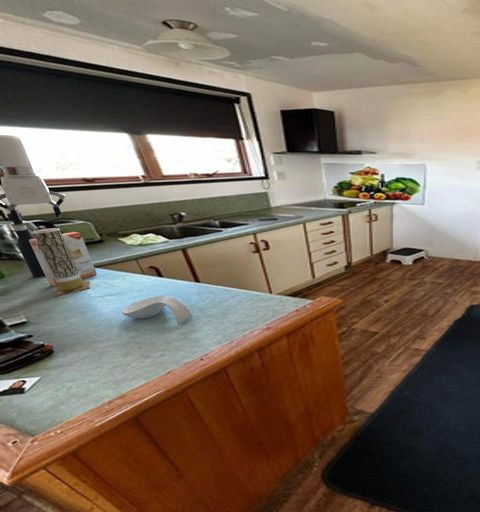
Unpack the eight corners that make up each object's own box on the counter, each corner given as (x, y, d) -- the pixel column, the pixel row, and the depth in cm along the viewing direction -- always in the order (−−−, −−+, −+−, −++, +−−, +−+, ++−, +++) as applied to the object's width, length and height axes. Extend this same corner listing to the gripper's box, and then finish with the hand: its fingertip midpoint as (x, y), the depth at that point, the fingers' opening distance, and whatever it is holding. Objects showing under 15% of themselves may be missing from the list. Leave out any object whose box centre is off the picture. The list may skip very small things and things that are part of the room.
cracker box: (57, 287, 116) (35, 240, 109) (49, 285, 118) (27, 239, 111) (98, 274, 129) (80, 232, 122) (90, 273, 131) (72, 231, 124)
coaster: (54, 296, 107) (53, 295, 107) (56, 289, 114) (56, 288, 114) (90, 288, 114) (89, 287, 114) (90, 281, 121) (90, 280, 121)
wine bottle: (34, 278, 126) (2, 215, 116) (32, 275, 130) (0, 213, 120) (55, 273, 131) (25, 212, 121) (52, 271, 135) (23, 211, 125)
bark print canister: (65, 292, 110) (37, 232, 101) (57, 290, 112) (28, 231, 104) (87, 285, 116) (63, 228, 107) (79, 283, 118) (54, 227, 110)
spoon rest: (116, 320, 89) (108, 301, 87) (154, 303, 99) (148, 285, 97) (168, 331, 82) (161, 310, 80) (203, 311, 93) (198, 292, 90)
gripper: (-25, 173, 90) (0, 223, 96) (54, 171, 102) (72, 216, 107) (-19, 173, 95) (4, 221, 101) (56, 171, 107) (73, 214, 112)
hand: (39, 218), depth 104 cm, fingers open, 9 cm apart
